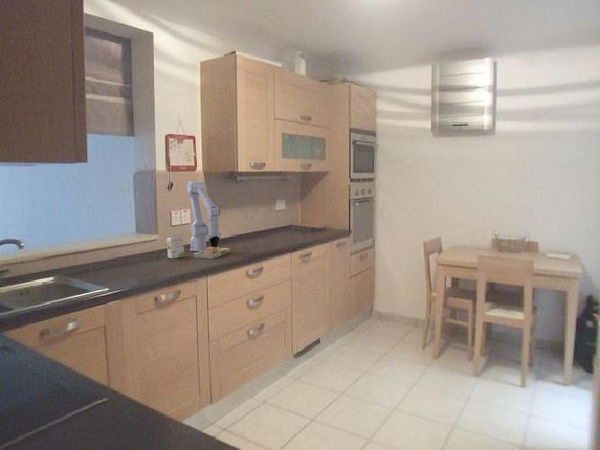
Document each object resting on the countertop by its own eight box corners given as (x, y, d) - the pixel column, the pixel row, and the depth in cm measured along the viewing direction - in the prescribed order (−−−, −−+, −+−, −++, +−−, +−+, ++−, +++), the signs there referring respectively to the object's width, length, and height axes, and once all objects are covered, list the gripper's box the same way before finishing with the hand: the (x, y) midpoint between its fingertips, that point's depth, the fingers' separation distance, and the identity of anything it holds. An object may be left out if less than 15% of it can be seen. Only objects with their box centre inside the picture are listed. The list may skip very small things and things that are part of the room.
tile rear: (205, 251, 269) (205, 248, 269) (209, 249, 274) (209, 246, 273) (213, 251, 267) (213, 248, 267) (217, 250, 272) (217, 247, 272)
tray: (192, 257, 264) (192, 253, 263) (201, 254, 273) (201, 250, 272) (213, 258, 259) (213, 255, 259) (221, 255, 268) (221, 252, 268)
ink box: (180, 255, 270) (179, 231, 268) (184, 256, 266) (183, 232, 264) (167, 257, 264) (166, 232, 262) (171, 258, 260) (170, 233, 258)
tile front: (201, 256, 264) (201, 252, 264) (206, 254, 269) (206, 251, 269) (209, 256, 263) (209, 253, 263) (213, 255, 268) (213, 251, 267)
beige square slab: (202, 254, 273) (202, 250, 272) (212, 250, 284) (211, 247, 284) (220, 255, 269) (220, 251, 268) (230, 252, 280) (230, 248, 279)
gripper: (213, 228, 264) (214, 251, 266) (225, 225, 278) (225, 247, 279) (203, 228, 266) (203, 250, 268) (215, 225, 280) (215, 246, 282)
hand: (214, 248), depth 274 cm, fingers closed
